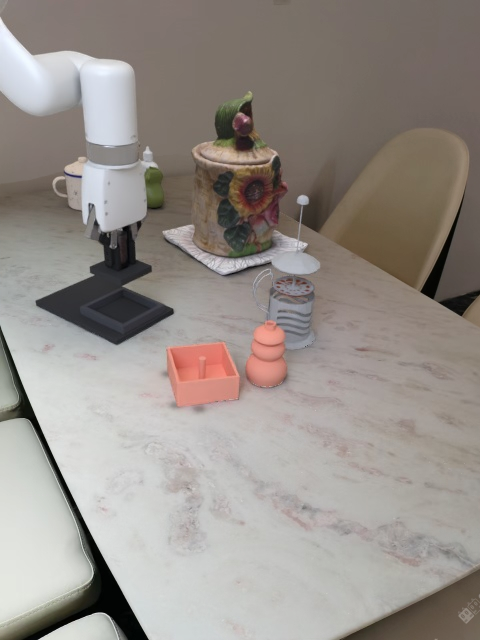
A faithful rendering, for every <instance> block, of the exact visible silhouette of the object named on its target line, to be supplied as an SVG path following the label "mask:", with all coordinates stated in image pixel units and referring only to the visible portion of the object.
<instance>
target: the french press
mask: <svg viewBox="0 0 480 640" xmlns="http://www.w3.org/2000/svg"><path fill="white" fill-rule="evenodd" d="M296 203H297V204H298V205H301V208H300V217H299V226H298V233H297V239H298V242H297V251H287V252H284V253H281V254H279V255H276V256H275V257H273V258H272V262H271V265H272V267H273V268H274V269H275V270H277V271H278V272H280V273H283V274H287V275H282V276H279V277H276V278H275V279H274V273H273V270H272V269H271V268H266V269H264V270H262V271H260V273H258V274H257V276H256V277H255V279H254V281H253V284H252V295H253V298H254V302H255V304H256V305H255V306H256V307H257V308H258V309H260V310H261V311H262V312H265V313H266V315H265V322H266V321H268V320H271V321H274V322H276V326H278V327H280V328H281V329H282V330H283V331H284V332H285V340H284V341H283V342H284V344H285V350H292V351H295V350H301V349H305V348H308V347H310V346H311V345H312V344H313V343H314V342H315V341H316V338H315V339H314V335H315V336H316V333H315V332H314V331H313V329H312V322H313V321H312V320H313V315H314V309H315V301H316V293H315V284H314V283H313V282H312V281H311V280H308V279H306V278H304V277H303V276H310V275H313V274H316V273H317V272H318V271H319V270H320V269H321V262H320V261H319V260H318V259H316V258H315V257H314V256H312V255H310V254H309V253H306V252H299V251H298V244H299V241H300V236H301V235H300V234H301V226H302V216H303V206H307V205H309V204H310V199H309V197H308V196H307V195H305V194H300V195H299V196H297V199H296ZM266 271H269V273H267V274H264V275H262V274H263V273H265V272H266ZM261 275H262V277H260V276H261ZM267 276H269V277H270V280H271V281H272V283H271V286H272V287H270V289H269V295H268V298H269V299H268V307H267V306H266V305H264V304H262V303H261V302H259V300H258V299H257V297H256V295H257V288H258V286H259V284H260V283H261V282H262V280H263V279H264V278H266V277H267ZM300 276H301V277H300ZM259 277H260V279H259ZM258 279H259V280H258ZM276 292H277V293H276ZM280 296H287V297H289V298H290V299H289V298H285V297H280ZM278 297H280V298H278ZM300 297H302V298H305V299H307V300H303V299H301V298H300ZM276 298H278V299H276ZM291 299H292V300H294V301H296V302H298V303H300V304H297V303H296V302H294V301H292V300H291ZM264 308H265V309H264ZM287 310H288V311H287ZM289 311H290V312H289ZM291 312H292V313H291ZM313 340H314V341H313ZM312 341H313V342H312ZM308 344H310V345H308ZM307 345H308V346H307ZM305 346H306V347H305ZM301 347H303V348H301ZM296 348H297V349H296Z"/></svg>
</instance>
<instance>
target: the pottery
mask: <svg viewBox="0 0 480 640" xmlns="http://www.w3.org/2000/svg"><path fill="white" fill-rule="evenodd" d="M252 336H253V339H252V342H251V344H250V349H251V352H252V353H251V354H250V355H249V356H248V357H247V359H246V361H245V365H244V370H245V375H246V378H247V381H248V382H249V383H251V382H252V383H254V384H256V385H258V386H256V385H254V384H252V383H251V384H252V385H254V386H255V387H259V388H261V387H260V386H266V387H262V388H264V389H271V388H273V387H269V386H275V385H278V384H280V383H281V382H282V381H283V382H284V380H285V378H286V375H287V373H288V364H287V362H286V359H285V357H284V354H285V353H286V349H285V344H284V342H283V341H284V340H285V332H284V331H283V330H282V329H281V328H280V327H278V326H276V322H274V321H271V320H268V321H266V320H265V322H264V324H261V325H259V326H257V327H255V329H254V331H253V333H252ZM166 371H167V375H168V378H169V382H170V386H171V389H172V392H173V396H174V399H175V404H176V407H177V408H182V407H190V406H197V405H198V406H199V405H206V404H214V403H216V402H215V401H218V402H217V403H223V402H224V401H221V400H226V401H225V402H229V401H230V402H232V400H229V399H234V400H233V401H237V400H239V395H240V382H241V381H240V379H241V376H240V374H239V372H238V369H237V367H236V364H235V362H234V360H233V357H232V356H231V354H230V351H229V349H228V346H227V344H226V342H225V341H220V342H208V343H198V344H186V345H176V346H166ZM283 382H282V383H283ZM282 383H281V384H282ZM281 384H280V385H281ZM280 385H278V386H280ZM278 386H275V387H278ZM275 387H274V388H275ZM236 398H238V399H236ZM209 402H210V403H209ZM185 405H186V406H185Z"/></svg>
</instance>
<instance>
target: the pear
mask: <svg viewBox="0 0 480 640" xmlns="http://www.w3.org/2000/svg"><path fill="white" fill-rule="evenodd" d="M144 178H145V185H146V196H147V208H150V209H157V208H159V207H161V206H162V205H163V204H164V201H165V192H164V188H163V185H162V181H163V180H164V175H163V172H162V170H160V169H159V167H158V168H157V167H151V166H149V168H148V169H146V171H145V173H144Z"/></svg>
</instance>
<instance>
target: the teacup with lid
mask: <svg viewBox="0 0 480 640" xmlns="http://www.w3.org/2000/svg"><path fill="white" fill-rule="evenodd" d="M86 162H88V159H87V156H79V157H77V160H76V161H74V162H73V163H69V164H67V165H65V167H64V168H63V173H64V175H63V176H62V175H60V176H56V177H55V178H54V179H53V181H52V189H53V191H54V193H55V194H56V195H57V196H58V197H61V198H67V204H68V206H69V208H70V209H73V210H76V211H81V212H82V197H81V185H82V172H83V166H84V163H86ZM59 181H65V186H66V193H62V192H60V191H59V190H58V189H57V183H58V182H59Z"/></svg>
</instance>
